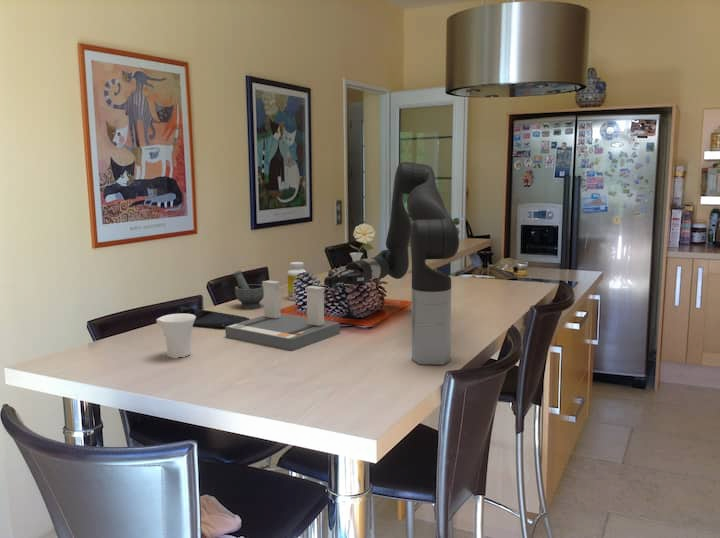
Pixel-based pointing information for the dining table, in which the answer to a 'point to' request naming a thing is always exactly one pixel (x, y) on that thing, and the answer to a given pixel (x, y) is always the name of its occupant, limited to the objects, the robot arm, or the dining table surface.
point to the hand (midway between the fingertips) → (326, 281)
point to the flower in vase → (362, 239)
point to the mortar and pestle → (248, 292)
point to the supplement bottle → (294, 276)
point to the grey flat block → (282, 331)
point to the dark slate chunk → (211, 318)
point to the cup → (177, 333)
